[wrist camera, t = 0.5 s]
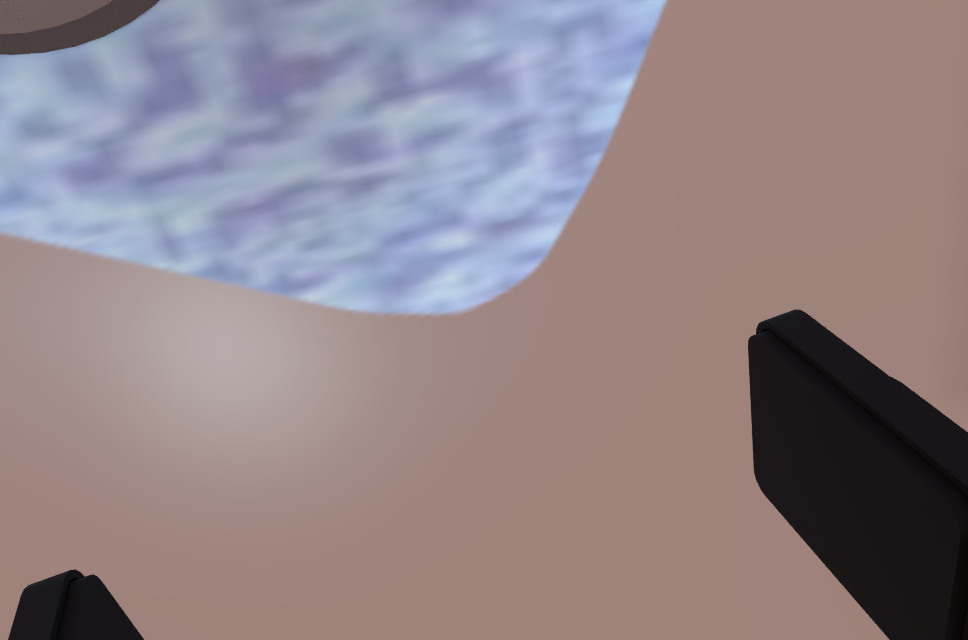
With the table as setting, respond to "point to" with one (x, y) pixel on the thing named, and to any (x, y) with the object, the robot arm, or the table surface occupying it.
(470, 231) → the table surface
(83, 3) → the handwheel
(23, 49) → the plinth
